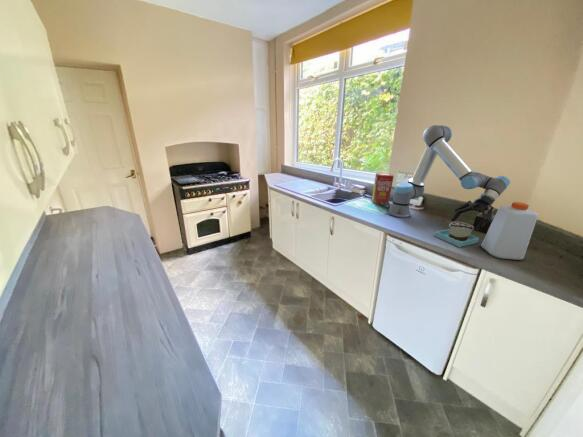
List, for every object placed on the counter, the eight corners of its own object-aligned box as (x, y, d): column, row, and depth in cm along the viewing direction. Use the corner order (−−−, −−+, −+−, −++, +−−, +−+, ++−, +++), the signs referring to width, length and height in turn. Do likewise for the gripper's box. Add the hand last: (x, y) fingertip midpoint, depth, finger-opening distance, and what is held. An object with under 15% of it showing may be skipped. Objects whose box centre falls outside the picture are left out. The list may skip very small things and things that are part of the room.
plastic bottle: (527, 262, 119) (551, 209, 108) (494, 258, 121) (514, 207, 110) (506, 247, 132) (526, 200, 122) (477, 245, 135) (494, 198, 124)
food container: (466, 238, 142) (471, 222, 138) (469, 242, 136) (475, 226, 133) (442, 234, 145) (447, 219, 142) (445, 238, 140) (450, 223, 136)
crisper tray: (434, 236, 144) (435, 231, 143) (452, 232, 151) (453, 228, 149) (459, 247, 132) (461, 242, 130) (477, 242, 138) (479, 238, 136)
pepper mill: (494, 229, 157) (504, 203, 150) (490, 233, 150) (500, 207, 143) (467, 222, 168) (475, 198, 161) (462, 226, 161) (470, 201, 154)
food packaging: (372, 203, 204) (377, 174, 195) (371, 200, 213) (375, 172, 203) (388, 204, 202) (394, 175, 193) (386, 201, 211) (391, 173, 202)
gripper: (513, 209, 130) (487, 237, 130) (466, 197, 152) (445, 221, 151) (511, 200, 126) (485, 230, 126) (463, 189, 148) (441, 214, 147)
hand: (463, 225), depth 139 cm, fingers open, 13 cm apart
